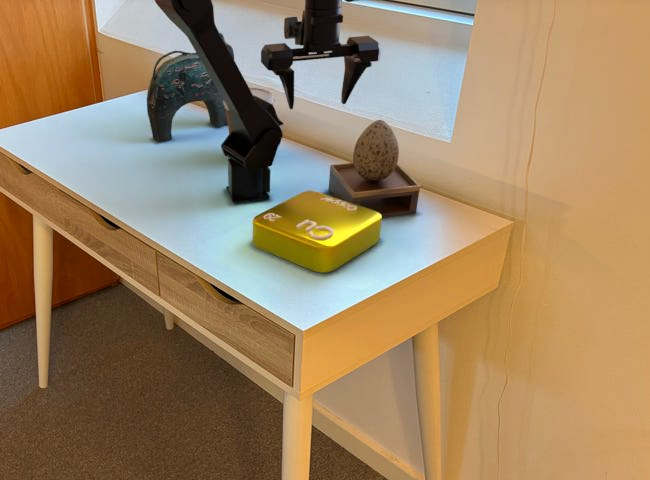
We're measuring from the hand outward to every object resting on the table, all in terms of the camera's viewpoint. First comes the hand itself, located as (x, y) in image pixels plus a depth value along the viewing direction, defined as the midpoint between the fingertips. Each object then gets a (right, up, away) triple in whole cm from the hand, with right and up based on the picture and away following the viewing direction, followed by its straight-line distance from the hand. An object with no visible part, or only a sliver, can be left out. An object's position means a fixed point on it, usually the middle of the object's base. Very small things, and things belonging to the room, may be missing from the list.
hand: (317, 106), depth 123 cm
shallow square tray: (+9, -17, -1) cm, 19 cm away
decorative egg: (+9, -14, -4) cm, 17 cm away
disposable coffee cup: (-10, -4, +17) cm, 21 cm away
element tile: (-2, -25, -11) cm, 28 cm away
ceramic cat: (-21, +5, +30) cm, 37 cm away
